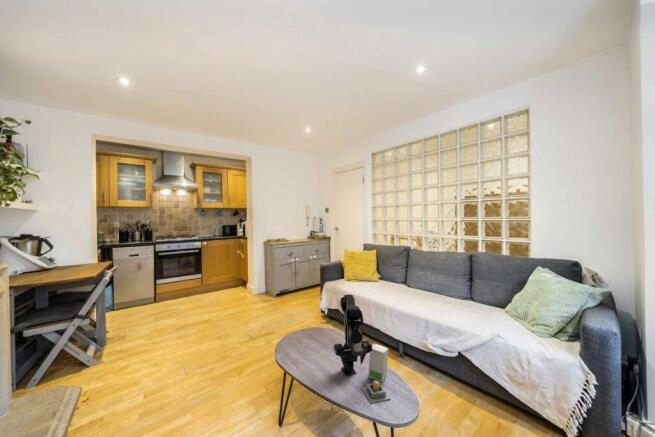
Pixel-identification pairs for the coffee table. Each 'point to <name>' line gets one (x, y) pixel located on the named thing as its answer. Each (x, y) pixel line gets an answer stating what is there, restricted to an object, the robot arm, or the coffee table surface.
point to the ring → (376, 394)
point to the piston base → (375, 388)
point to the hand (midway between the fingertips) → (352, 364)
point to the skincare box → (378, 362)
